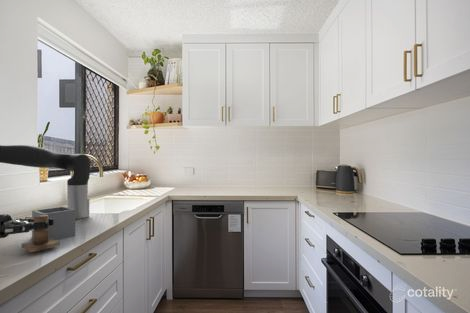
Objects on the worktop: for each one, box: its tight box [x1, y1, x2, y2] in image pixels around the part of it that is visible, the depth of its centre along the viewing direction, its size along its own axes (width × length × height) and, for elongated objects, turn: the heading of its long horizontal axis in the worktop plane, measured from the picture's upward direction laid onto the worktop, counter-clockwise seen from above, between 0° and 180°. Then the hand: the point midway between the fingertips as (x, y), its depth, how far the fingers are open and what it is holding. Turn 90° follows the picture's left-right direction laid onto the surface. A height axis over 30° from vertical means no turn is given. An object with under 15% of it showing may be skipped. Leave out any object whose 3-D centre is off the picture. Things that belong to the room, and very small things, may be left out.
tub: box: [31, 206, 76, 241], centre depth 104 cm, size 11×11×10 cm
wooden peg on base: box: [21, 215, 61, 253], centre depth 88 cm, size 8×8×10 cm
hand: (50, 223), depth 89 cm, fingers closed on wooden peg on base, 4 cm apart
